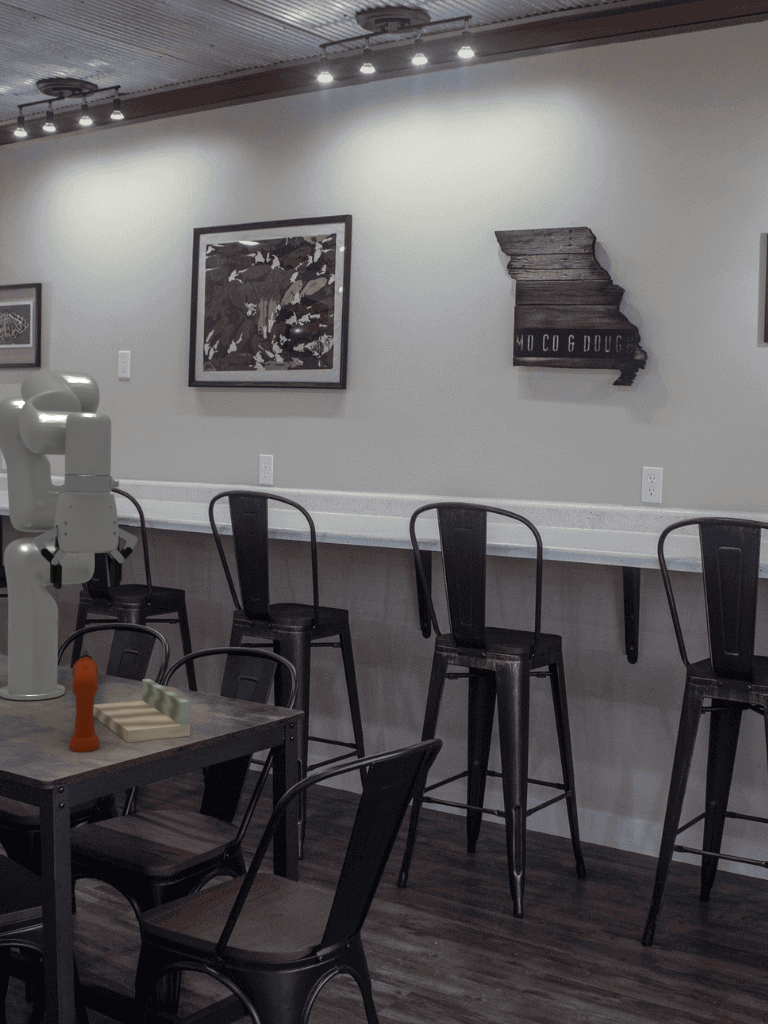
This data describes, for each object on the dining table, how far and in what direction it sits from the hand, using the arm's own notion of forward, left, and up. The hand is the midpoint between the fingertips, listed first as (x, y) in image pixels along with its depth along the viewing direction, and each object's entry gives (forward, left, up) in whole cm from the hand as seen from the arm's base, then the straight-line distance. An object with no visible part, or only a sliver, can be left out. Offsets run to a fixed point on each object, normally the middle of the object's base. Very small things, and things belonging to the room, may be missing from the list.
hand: (86, 586), depth 185 cm
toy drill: (0, 0, -26) cm, 26 cm away
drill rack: (-6, +12, -26) cm, 29 cm away
